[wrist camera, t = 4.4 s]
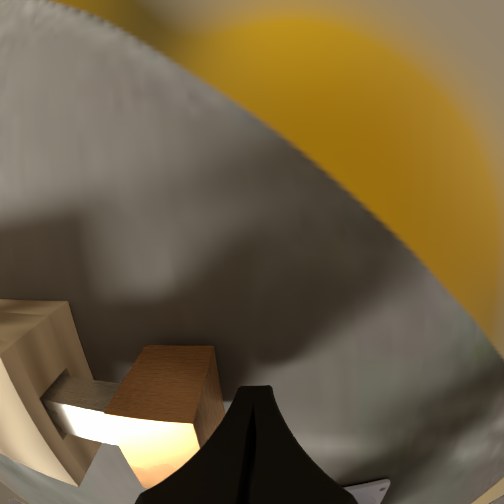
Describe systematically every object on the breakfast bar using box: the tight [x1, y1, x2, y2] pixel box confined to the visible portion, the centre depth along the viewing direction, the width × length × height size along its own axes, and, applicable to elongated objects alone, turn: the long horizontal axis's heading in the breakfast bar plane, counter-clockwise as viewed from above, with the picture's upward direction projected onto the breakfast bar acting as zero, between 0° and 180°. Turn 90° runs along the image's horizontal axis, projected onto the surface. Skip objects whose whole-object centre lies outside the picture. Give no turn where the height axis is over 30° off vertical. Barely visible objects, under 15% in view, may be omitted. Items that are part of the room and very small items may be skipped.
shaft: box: [39, 345, 225, 488], centre depth 11 cm, size 16×4×4 cm, turn 94°
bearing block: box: [0, 299, 102, 487], centre depth 11 cm, size 9×8×5 cm
